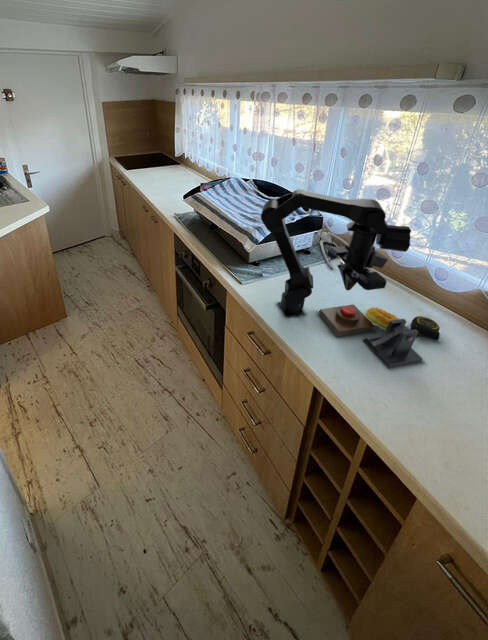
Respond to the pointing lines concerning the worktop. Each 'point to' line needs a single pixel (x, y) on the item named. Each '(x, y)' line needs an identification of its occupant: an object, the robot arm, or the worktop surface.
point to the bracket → (398, 346)
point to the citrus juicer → (326, 238)
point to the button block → (346, 321)
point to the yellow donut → (379, 317)
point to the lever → (385, 338)
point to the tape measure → (426, 327)
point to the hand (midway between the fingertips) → (347, 289)
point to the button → (348, 311)
